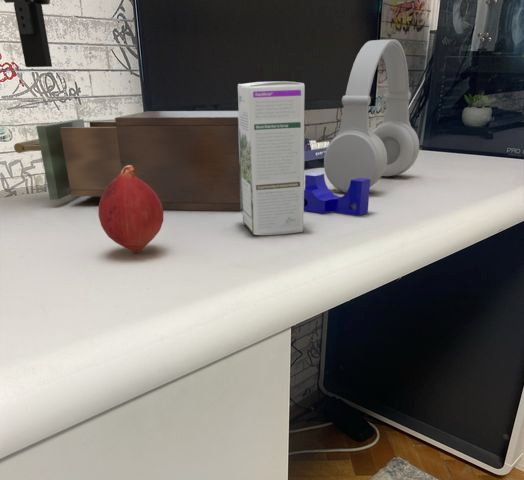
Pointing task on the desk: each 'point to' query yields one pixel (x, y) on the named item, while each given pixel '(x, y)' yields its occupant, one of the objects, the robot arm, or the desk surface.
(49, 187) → the drawer
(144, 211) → the onion
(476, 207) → the desk surface
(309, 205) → the cable holder
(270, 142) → the syrup box
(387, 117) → the headphones
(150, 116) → the cabinet
